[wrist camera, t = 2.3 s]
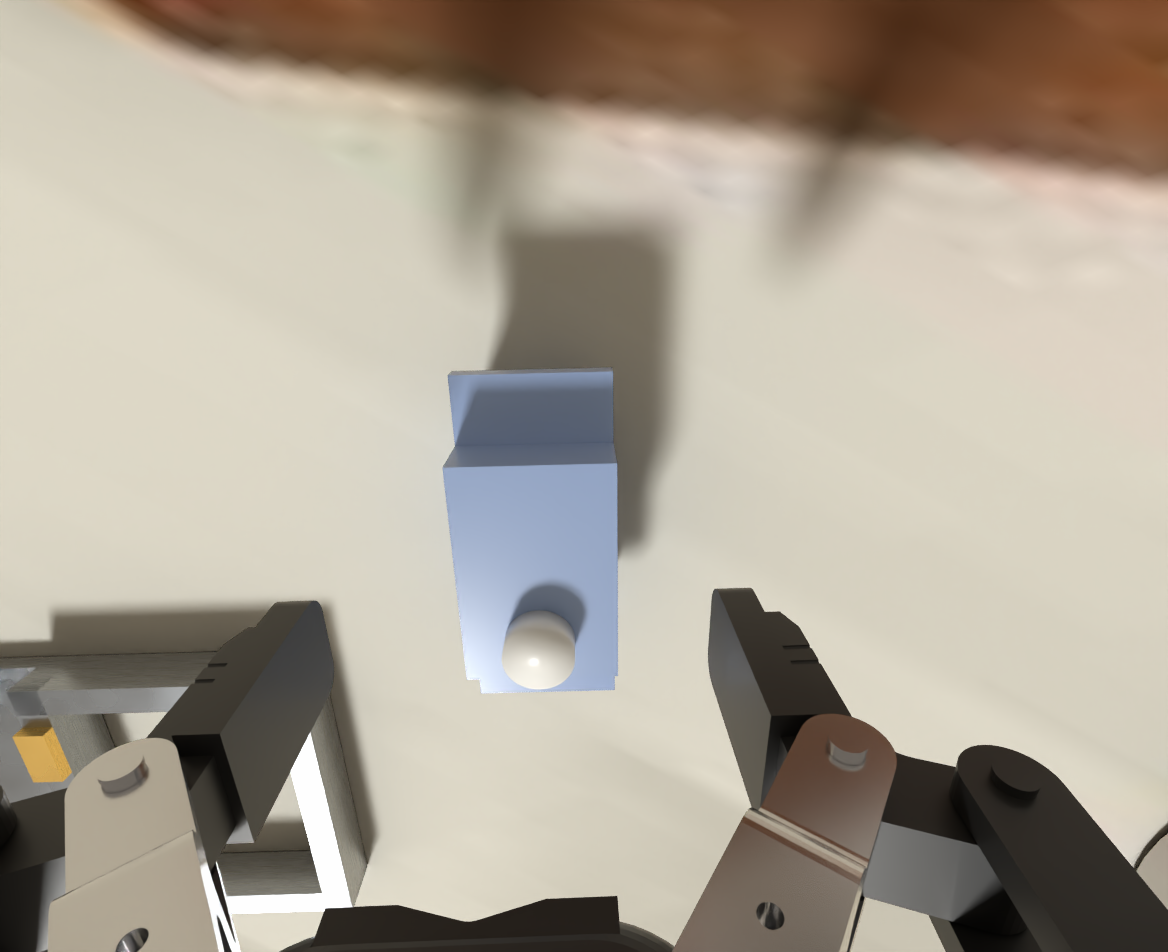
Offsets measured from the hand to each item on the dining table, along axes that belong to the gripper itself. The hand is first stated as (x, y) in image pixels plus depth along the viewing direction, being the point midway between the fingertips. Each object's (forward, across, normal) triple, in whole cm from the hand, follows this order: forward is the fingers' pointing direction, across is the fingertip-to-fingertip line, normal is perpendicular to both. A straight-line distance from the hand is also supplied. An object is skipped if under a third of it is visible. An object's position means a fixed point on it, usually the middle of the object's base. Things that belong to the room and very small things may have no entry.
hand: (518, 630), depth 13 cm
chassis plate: (+8, +15, +11) cm, 20 cm away
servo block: (+8, 0, 0) cm, 8 cm away
